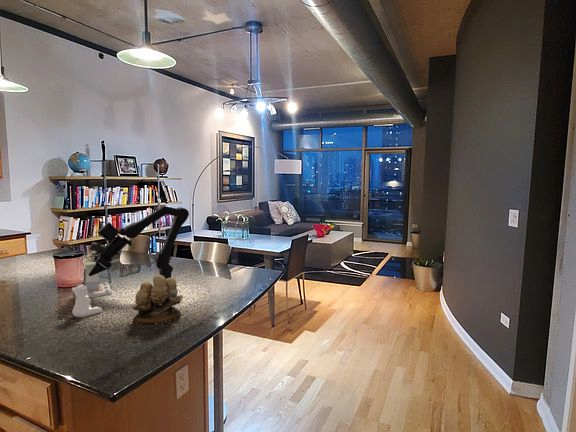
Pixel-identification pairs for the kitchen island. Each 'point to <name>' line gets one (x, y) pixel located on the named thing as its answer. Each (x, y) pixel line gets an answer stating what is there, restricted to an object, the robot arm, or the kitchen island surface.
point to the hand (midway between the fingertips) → (88, 273)
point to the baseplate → (99, 291)
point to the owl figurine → (157, 301)
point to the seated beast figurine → (83, 303)
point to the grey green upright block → (91, 278)
